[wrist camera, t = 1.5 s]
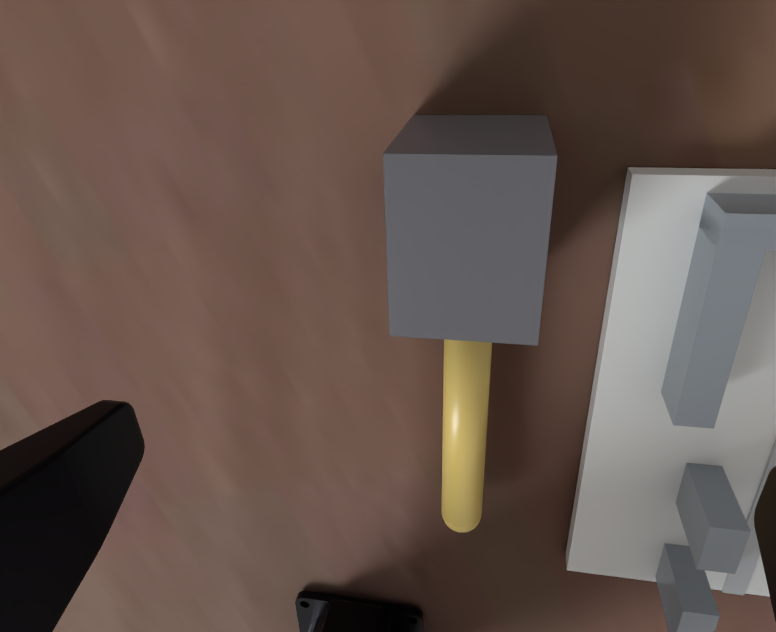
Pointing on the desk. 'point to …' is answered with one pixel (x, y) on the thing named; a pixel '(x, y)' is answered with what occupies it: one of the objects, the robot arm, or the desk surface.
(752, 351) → the board
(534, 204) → the plug
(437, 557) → the desk surface
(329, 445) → the desk surface
